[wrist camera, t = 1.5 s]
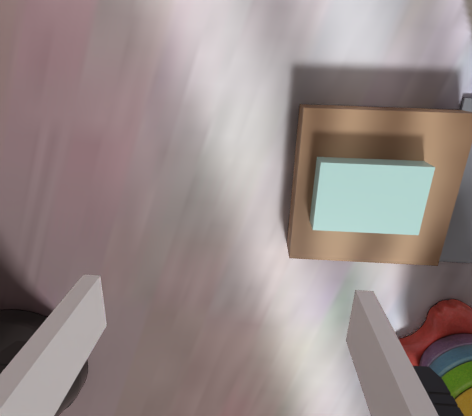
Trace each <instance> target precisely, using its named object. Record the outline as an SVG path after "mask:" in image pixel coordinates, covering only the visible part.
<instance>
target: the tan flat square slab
mask: <svg viewBox="0 0 472 416" xmlns="http://www.w3.org/2000/svg"><path fill="white" fill-rule="evenodd" d="M471 145H472V112H469V111H464V110H454V109H425V108H395V107H366V106H337V105H308V104H300V107H299V118H298V128H297V139H296V150H295V161H294V172H293V183H292V194H291V204H290V215H289V226H288V237H287V247H288V253H289V258H297V259H317V260H336V261H355V262H375V263H394V264H413V265H433V266H438V263H439V260H440V256H441V253H442V249H443V245H444V242H445V238H446V235H447V231H448V228H449V224H450V220H451V217H452V213H453V210H454V206H455V202H456V199H457V195H458V192H459V188H460V184H461V181H462V177H463V174H464V170H465V167H466V163H467V159H468V156H469V152H470V149H471ZM317 157H337V158H362V159H387V160H412V161H425V162H427V163H429V164H430V165H432V166H434V167H435V171H434V175H433V179H432V183H431V187H430V191H429V195H428V199H427V203H426V207H425V211H424V215H423V219H422V223H421V228H420V232H419V235H403V234H382V233H361V232H341V231H320V230H312V227H311V224H310V212H311V203H312V195H313V186H314V177H315V169H316V160H317Z"/></svg>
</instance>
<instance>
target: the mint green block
mask: <svg viewBox="0 0 472 416" xmlns="http://www.w3.org/2000/svg"><path fill="white" fill-rule="evenodd" d="M434 171H435V167H434V166H432V165H430V164H429V163H427V162H425V161H412V160H387V159H362V158H337V157H317V160H316V169H315V177H314V186H313V195H312V203H311V212H310V224H311V227H312V230H320V231H341V232H361V233H382V234H403V235H419V232H420V228H421V223H422V219H423V215H424V211H425V207H426V203H427V199H428V195H429V191H430V187H431V183H432V179H433V175H434Z"/></svg>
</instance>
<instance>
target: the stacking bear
mask: <svg viewBox="0 0 472 416" xmlns="http://www.w3.org/2000/svg"><path fill="white" fill-rule="evenodd" d="M399 341H400V343H401V345H402V347H403V349H404V351H405V352H406V354H407V356H408V358H409V360H410V362H411V364H412V366H427V367H430V368H431V369H432V370H433V371H434V372H435V373H436V374H437V375H439V376H440V377H441V378H442V379H443V381H444V383H445V384H446V386H447V388H448V389H449V391H450V393H451V396H453V398H454V399H455V401H456V403H457V404H458V405H457V406H458V407H459V408H460V409H461V411H462V413H463V414H464V416H472V308H471V307H469V306H468V305H466V304H465V303H463V302H461V301H459V300H455V299H450V300H443V301H440V302H438V303H437V304H436V305H435V306H433V307H432V308H431V309H430V310H429V312H428V315H427V318H426V321H425V323H424V324H423V326H422V327H421V328H420V329H419V330H418V331H416V332H415V333H414V334H412V335H410V336H407V337H404V338H401V339H399Z"/></svg>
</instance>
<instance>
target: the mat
mask: <svg viewBox="0 0 472 416" xmlns="http://www.w3.org/2000/svg"><path fill="white" fill-rule="evenodd" d="M460 110H464V111H469V112H472V98H463V100H462V104H461V108H460ZM439 261H443V262H462V263H472V145H471V149H470V152H469V156H468V159H467V163H466V167H465V170H464V174H463V177H462V181H461V184H460V188H459V192H458V195H457V199H456V202H455V206H454V210H453V213H452V217H451V220H450V224H449V228H448V231H447V235H446V238H445V242H444V245H443V249H442V253H441V256H440V260H439Z"/></svg>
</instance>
